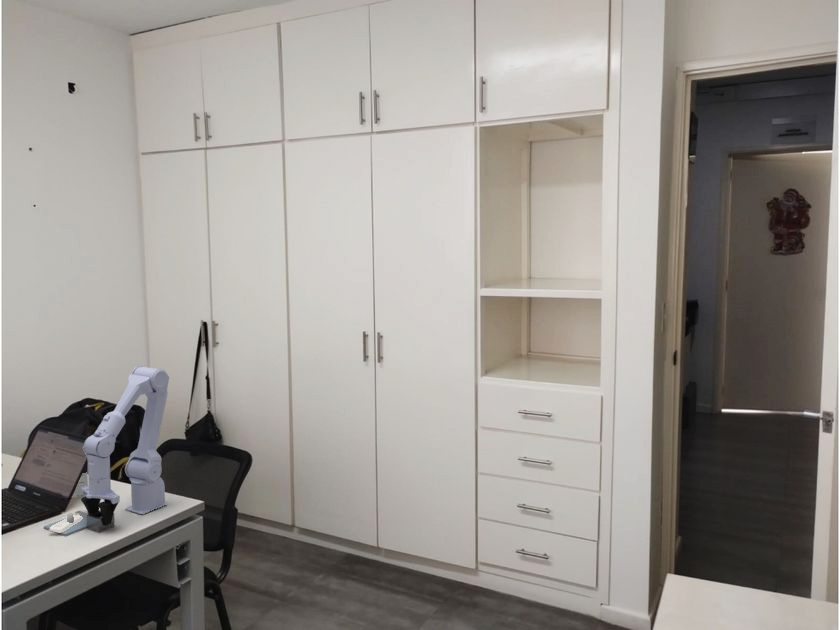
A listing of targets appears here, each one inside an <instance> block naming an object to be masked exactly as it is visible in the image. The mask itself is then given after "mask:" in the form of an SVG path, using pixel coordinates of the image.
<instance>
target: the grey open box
mask: <svg viewBox="0 0 840 630" xmlns="http://www.w3.org/2000/svg"><path fill="white" fill-rule="evenodd" d="M115 523H116V522H115V513H114V514H113V517H112V521H111V524H108V525H106V526H104V525H103V521H102V514H101V510H100V509H99V511H97V512H94V513H91V514H89V515H87V528H86V529H87V530H90V531H92V532H96V533H101V532H103V531H106V530H110V529H111V528H113V527H115Z"/></svg>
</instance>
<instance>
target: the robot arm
mask: <svg viewBox="0 0 840 630" xmlns="http://www.w3.org/2000/svg"><path fill="white" fill-rule="evenodd" d="M169 379H170V376H169V375H168V373H167V372H166V370H165V369H164V368H155V367H148V366H143V365H138V366H136V367H134V368H133V369H132V371H131V373H130V374H129V376H128V377H127V382H128V383H127V386H126V387H125V390H124V392H123V394H121V395H122V396H121V397H120V399H119V400H118V402H117V404H116V406H115V408H114V410H113V411H109V412H107V413H106V415H104V417H103V418H102V420H101V423H100V424H99V425H98V427H97V429H96V430H95V432H94V433H93V434H92V435H90V436H88V437H87V438H86V439H85V440H84V443H83V446H82V451H83V453H85V454H86V457H87V476H88V486H84V487H81V494H86V496H85V497H82V498H80V499H81V502H82V504H83V505H84V507H85V509H86V511H87V512H88V515H89V514H91V513H94V512H97V511H99V510H101V514H102V521H103V525H104V526H106V525H108V524H111V521H112V517H113V514H114V515H115V510H116V508H117V507H118V505H119V503H120V494H117V493H116V492H115V491H114V490H112V489H111V487H112V485H111V458H110V456H111V454H112V453H113V452H114V450H115V446H116V445H115V443H116V442H117V439H116V438H117V437H118V435H119V434H120V432H121V430H122V428H124V426H125V424H126V417H125V416H126V415H127V414H128V412H130V410H131V408H132V407H133V406H134V404H135V403H136V401H137V400H138V399H139V398H140V396H141V395H145V396H146V397H147V400H146V404H145V405H146V406H145V410H144V415H143V420H142V425H141V430H140V435H139V439H138V440H139V441H138V445H137V448H135V450H133V451H131V453H130V455H129V458H128V461H127V462H126V463H125V467H124V472H125V474H126V476H127V477H128V478H129V480H128V481H129V482H130V483H131V485H130V487H131V488H130V489H131V491H130V492H131V495H130V496H131V505H129V506H126V507H125V510H126V511H127V512H128V511H129V512H132V513H135V514H138V515H141V514H143V515H146V514H148V513H151V512H153V511H155V510H154V509H156V510H157V508H158V509H160V508H159V507H161V508H163V507H165V506H164V505H166V506H167V504H168V503H167V502H166V494H165V493H166V492H165V491H166V490H165V489H166V488H165V481H164V480H163V478H162V477H161V474H162V471H163V470H162V459H163V458H162V456H161V455H160V454H159V452H158V451H157V447H158V444H159V438H160V433H161V428H162V422H163V418H164V413H165V407H166V404H167V397H168V386H169ZM101 500H103V501H101ZM162 506H163V507H162ZM152 510H153V511H152ZM150 511H151V512H150ZM145 513H146V514H145Z"/></svg>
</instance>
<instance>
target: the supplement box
mask: <svg viewBox="0 0 840 630" xmlns="http://www.w3.org/2000/svg"><path fill="white" fill-rule="evenodd" d="M84 486H89V479H88V471H87V472H86V473H83V474H82V476H81V478H80V481H79V483H78V485H77V487H76V490H75V492H74V494H73V496H72V499H79V498H80V499H81V498H83V497H85V496H86V494H81V487H84Z"/></svg>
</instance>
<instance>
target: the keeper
mask: <svg viewBox="0 0 840 630" xmlns="http://www.w3.org/2000/svg"><path fill="white" fill-rule="evenodd" d="M73 515H74V513H72V512H69V513H67V514H66V516H67V517H65V518H62V519H60V520H57V521H54V522H51V523H49V524H46V525H44V526H43V529H44V530H47V531H49V529H50V527H51V526H52V525H54V524H56V523H58V522H60V521H62V520H64V519H66V518H67V522H69V523H73V522H74V517H73ZM78 515H80V516H82V517H83V519H82V520H81V521H80V522H78V523H77V524H75V525H73V526H72V527H70V528H69V529H67V530H66V531H64V532H61V536H64V537H68V536H71V535H73V534H75V533H78V532H81V531H83V530H86V529H87V515H88V512H87V510H84V509H80V510H78Z"/></svg>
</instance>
